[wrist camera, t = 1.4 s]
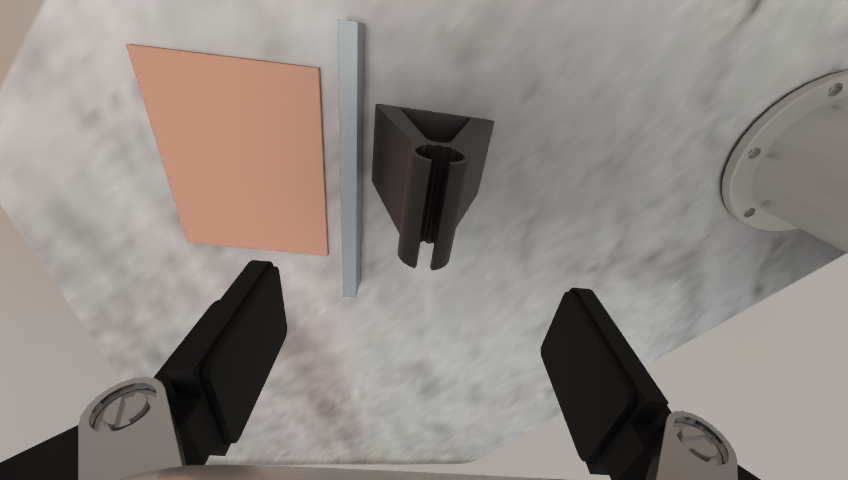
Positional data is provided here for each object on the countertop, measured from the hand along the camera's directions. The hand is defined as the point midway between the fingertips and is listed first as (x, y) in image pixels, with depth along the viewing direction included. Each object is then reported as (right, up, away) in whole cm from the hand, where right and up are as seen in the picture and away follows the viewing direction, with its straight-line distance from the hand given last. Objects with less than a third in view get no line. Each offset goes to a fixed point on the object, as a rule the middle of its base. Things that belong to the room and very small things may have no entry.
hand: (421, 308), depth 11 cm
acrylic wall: (-6, +8, +17) cm, 19 cm away
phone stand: (+1, +10, +16) cm, 18 cm away
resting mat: (-15, +8, +16) cm, 23 cm away
